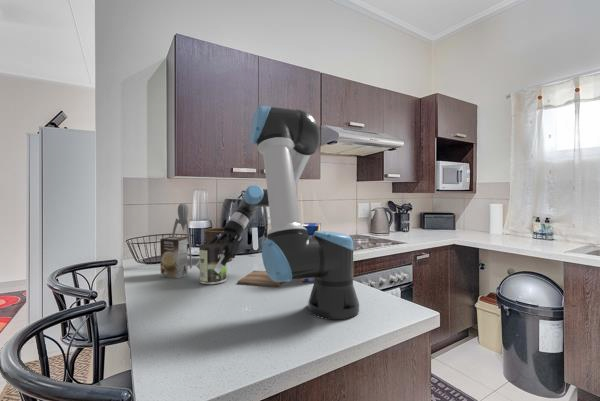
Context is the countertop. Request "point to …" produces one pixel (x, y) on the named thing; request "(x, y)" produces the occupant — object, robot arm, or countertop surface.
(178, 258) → the coffee box
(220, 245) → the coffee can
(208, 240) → the plant pot
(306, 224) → the beverage box
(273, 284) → the walnut board
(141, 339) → the countertop surface
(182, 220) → the citrus juicer
